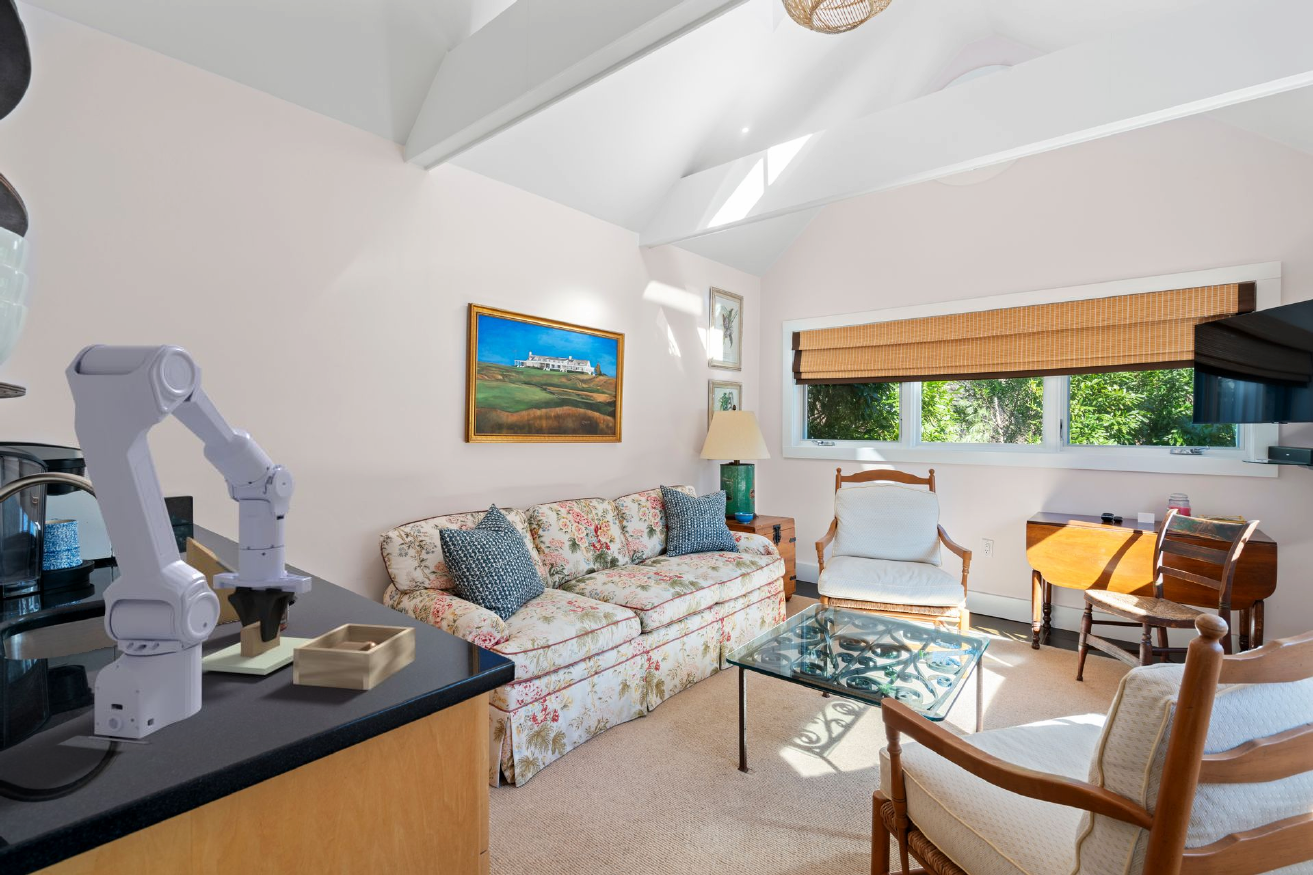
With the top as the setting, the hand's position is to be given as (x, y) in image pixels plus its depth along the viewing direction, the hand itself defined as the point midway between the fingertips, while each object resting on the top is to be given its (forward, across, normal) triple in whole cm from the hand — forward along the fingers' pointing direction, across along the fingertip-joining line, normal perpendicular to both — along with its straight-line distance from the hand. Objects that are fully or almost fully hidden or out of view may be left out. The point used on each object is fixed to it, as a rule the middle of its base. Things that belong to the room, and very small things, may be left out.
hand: (261, 639), depth 91 cm
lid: (+2, 0, 0) cm, 2 cm away
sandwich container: (+4, +24, -22) cm, 33 cm away
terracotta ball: (+3, -16, -2) cm, 16 cm away
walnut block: (+3, -16, +3) cm, 17 cm away
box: (+4, -16, +1) cm, 16 cm away
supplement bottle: (+4, +12, -15) cm, 20 cm away
